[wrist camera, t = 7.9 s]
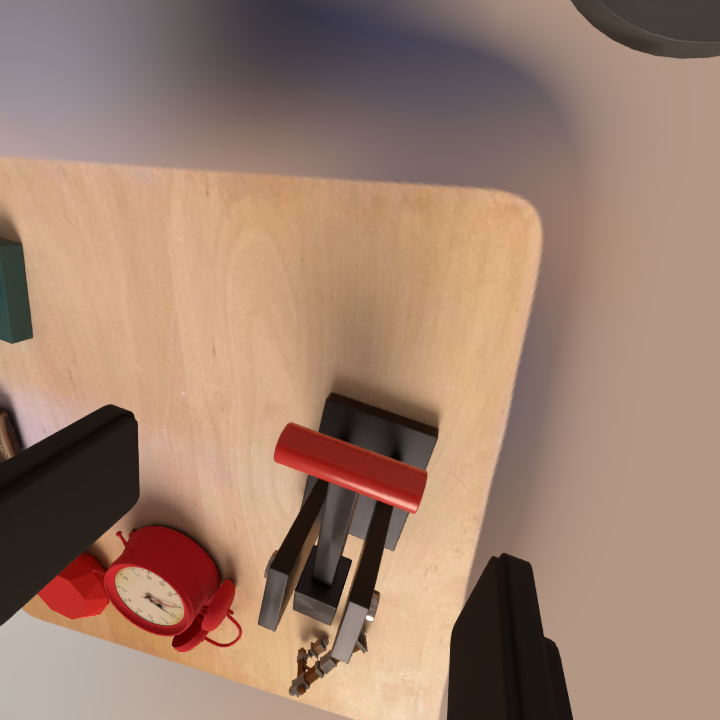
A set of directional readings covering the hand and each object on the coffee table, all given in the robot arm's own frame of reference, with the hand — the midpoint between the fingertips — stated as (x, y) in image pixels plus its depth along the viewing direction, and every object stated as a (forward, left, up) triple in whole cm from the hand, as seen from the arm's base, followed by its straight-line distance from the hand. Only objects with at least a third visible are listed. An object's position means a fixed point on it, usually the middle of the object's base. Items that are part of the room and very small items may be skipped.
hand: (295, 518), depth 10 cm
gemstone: (+38, -26, -17) cm, 50 cm away
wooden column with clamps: (+31, +3, -17) cm, 36 cm away
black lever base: (+11, +1, -17) cm, 20 cm away
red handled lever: (+6, +1, -6) cm, 9 cm away
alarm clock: (+31, -13, -17) cm, 38 cm away
